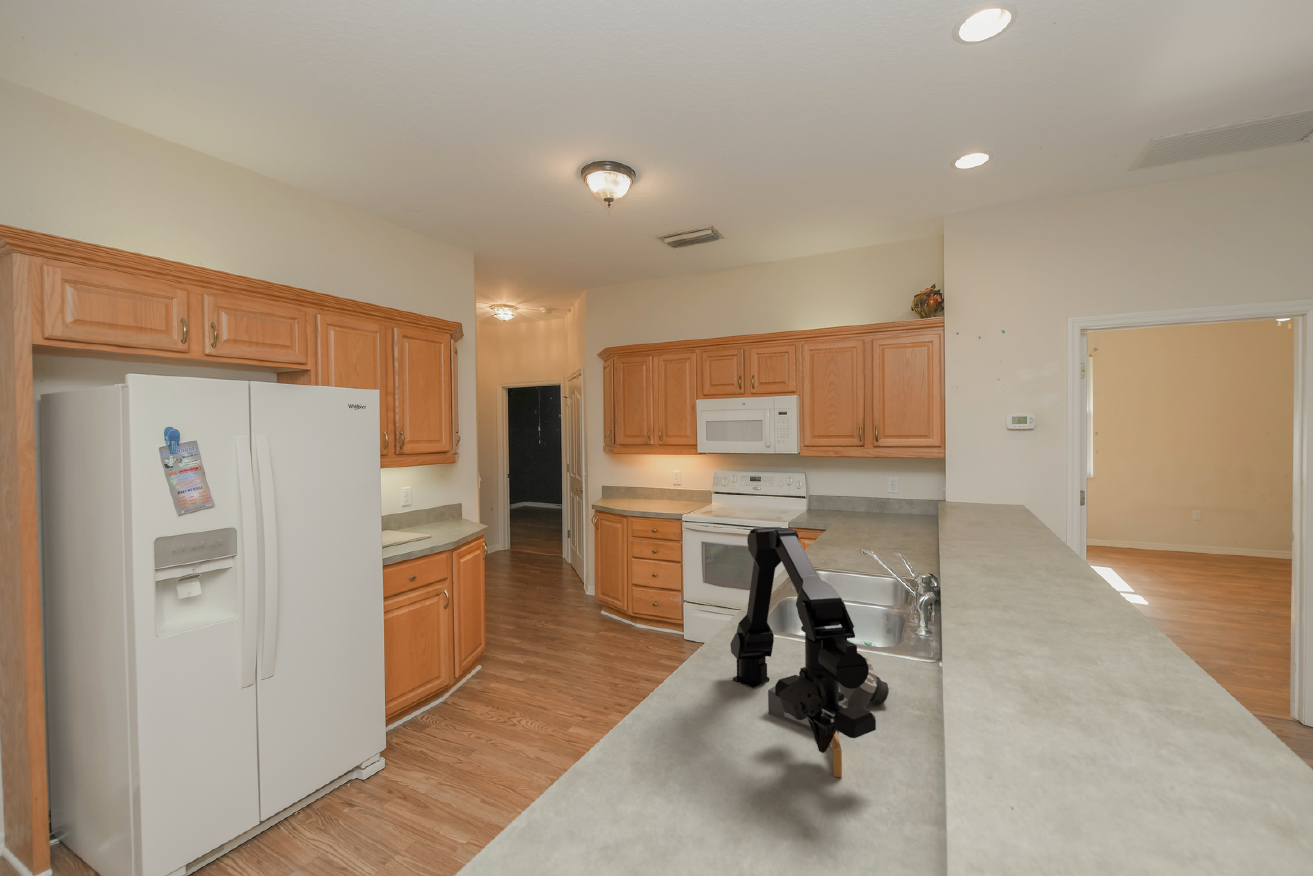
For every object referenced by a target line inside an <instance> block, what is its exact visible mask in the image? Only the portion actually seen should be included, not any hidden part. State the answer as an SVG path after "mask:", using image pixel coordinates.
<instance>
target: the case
mask: <svg viewBox="0 0 1313 876" xmlns="http://www.w3.org/2000/svg"><path fill="white" fill-rule="evenodd" d="M767 693H768V694H767V697H768V698H767V701H768V702H767V703H768V704H767V705H768V706H767V709H768V710H767V713H768V715H771V716H772V717H775V718H778V719H781V720H784V721H786V722H788V723H790V724H793V725H795V726H799V727H801V728H803V729H805V730H808V731H810V732H812V729H811V726H810V724H809V721H808V719H807V718H805V719H803V720H797V719H796V718H795V717H794V716H792V715H790V714H789V713H785V712H784V710H783V707H782V703H781V700H780V698H779V697H778V696H776V695H775V685H774V686H772V687H771V688H769V689H768V690H767ZM839 703H841V704H843V705H845V706H846V707H848V699H846V698H844V700H842V701H839ZM839 733H840V732H839V731H837V734H839Z"/></svg>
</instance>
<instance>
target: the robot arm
mask: <svg viewBox="0 0 1313 876" xmlns="http://www.w3.org/2000/svg"><path fill="white" fill-rule="evenodd" d="M746 541H747V549H748V552H749V554H750V556H751V558H752V560H753V566H752V573H751V580H750V588H749V595H748V601H747V602H748V603H747V608H746V609H747V610H746V615H745V616H743V618H742V619H741V620H740V621H739V622H738V624H737V628H736V633H735V634H734V635H733V637H732V640H731V642H730V644H729V645H730V652H731V654H732V655H733V657H735V659H736V676H734V677H732V681H734V682H737V683H739V684H741V685H744V686H747V687H750V688H753V689H756V688H758V687H759V686H762V685H763V684H765V683H767V682H769V681H770V677H769V676H768V663H766V662H767V661H766V659H767V658H766V657H772V653H773V647H774V646H773V645H774V638H775V635H774V632H773V630H772V629H771V627H770V625H769V623H768V618H769V614H770V613H769V612H770V606H771V599H772V594H773V593H772V592H773V585H774V579H775V572H776V569H777V567H779V565H780V564H781V562H782V565H783V568H784V569H785V572H786V573H787V574H788V575H787V576H789V579H790V581H791V583H792V585H793V587H794V589H795V591H796V594H797V597H796V602H795V607H796V610H797V614H798V615H797V616H798V617H799V620H800V622H801V624H802V626H801V627H800V629H801V631H802V632H803V633H805V635H804V639H805V641H804V644H805V645H804V646H805V647H804V648H805V650H804V654H805V655H804V656H805V659H804V661H805V664H804V665H805V666H803V667H801V668H800V669H799V670H800V671H798V672H799V674H798V675H797V674H793V675H789V676H787V677H782V678H779V679H778V680H777V682H776V684H775V685H774V686H775V695H776V696H778V697H779V698H780V700H781V703H782V707H783V710H784V712H785V713H789V714H790V715H792V716H794V717H795V718H796V719H797V720H803V719H805V718H807V719H808V721H809V724H810V726H811V729H812V731H811V732H812V734H813V738H814V740H815V743H816V746H817V749H818V751H819V752H820V753H822V754H823V753H826V752H827V750H828V748H829V747H830V746H831V741H832V739H833V737H834V735H835V733H836V731H839V732H838V733H840V734H842V735H844V736H846V737H848V738H850V739H857V738H859V737H862V736H864V735H867V734H869V733H871V732H874V731H876V730H877V723H876V722H877V720H876V716H875V715H874V714H873V712H871V711H869V710H867V709H863V708H861V707H859V706H857V705H852V706H850V707H846V706H845V705H843V704H841V703H839V701H842V700H844V694H843V693H841V692H839V683H840V684H841V685H842V686H844V687H846V688H849V689H854V688H857V687H859V686H861V685H862V684H863V683H864V682H865V680H866V679H867V676H868V672H869V666H868V665H867V661H866V660H865V658H864V657H863V656H862V655H860V654H859V653H857V651H858V645H856V644H855V643H853V642H851V641H849V640H848V639H854V638H855V637H856V633H855V630H854V628H855V625H854V623H853V621H852V619H851V616H850V615H849V612H848V610H847V607H846V604H845V602H844V600H843V598H842V597H841V595H840V594H839V593H838V591H837V590H836V588H835V587H833V585H831V584H829V583H828V582H826V581H825V580H823V579H822V578H821V577H820V576H819V575H818V572H817V571H816V569H815V567H814V565H813V563H812V562H811V559H810V558H809V557H808V554H807V553H806V550H805V549H804V548H803V546H802V544H801V542H800V540H799V534H798V531H797V530H795V529H793V528H782V527H781V526H780V527H779V526H777V527H776V526H774V527H754V528H753V529H750V530H749V533H748V534H747V538H746ZM833 626H835V627H833ZM836 626H840V627H836ZM827 627H831V628H827Z"/></svg>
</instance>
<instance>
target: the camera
mask: <svg viewBox="0 0 1313 876" xmlns="http://www.w3.org/2000/svg"><path fill="white" fill-rule="evenodd" d="M857 653H859V654H860V655H862V656H863V657H864V658H865V660H866V661H867V665H868V666H869V672H868V676H867V679H866V680H865V682H864V683H863V684H862V685H861V686H859V687H857V688H854V689H849V688H846V687H844V686H842V685H841V684H840V683H839V692H841V693H843V694H844V698H846V699H848V707H850V706H852V705H857V706H859V707H861V708H863V709H865V710H867V706H868V704H869V703H871V704H872V703H875V704H876V705H877V706H881V705H882V704H884V703H885V702H886V700H887V699H888V696H889V690H890V689H889V685H888V683H887V682H886V681H883V680H882V679H881V678H880V676H878V675H877V673H876V672H877V671H876V669H875V668H874V665H873V663H872V660H871V657H870V655H868V654H866V653H864V652H863V651H861V650H859V651H858V650H857Z"/></svg>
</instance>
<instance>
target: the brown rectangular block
mask: <svg viewBox="0 0 1313 876" xmlns="http://www.w3.org/2000/svg"><path fill="white" fill-rule="evenodd" d="M830 746H831V751H832V761H833V763H832V766H833V767H832V769H833V771H832V773H833V777H836V778H842V777H843V764H842V763H843V761H842V759H843V758H842V755H843V753H842V752H843V751H842V750H843V749H842V746H841V743H840V738H839V733H837V731H836V733H835V735H834V737H833V739H832V741H831V743H830Z"/></svg>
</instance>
